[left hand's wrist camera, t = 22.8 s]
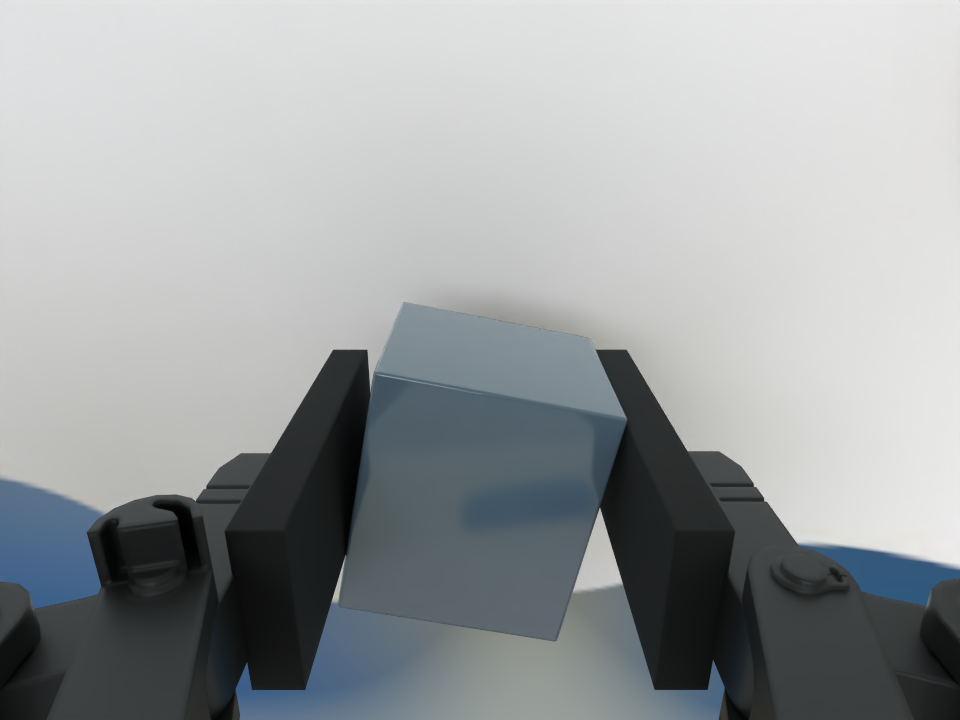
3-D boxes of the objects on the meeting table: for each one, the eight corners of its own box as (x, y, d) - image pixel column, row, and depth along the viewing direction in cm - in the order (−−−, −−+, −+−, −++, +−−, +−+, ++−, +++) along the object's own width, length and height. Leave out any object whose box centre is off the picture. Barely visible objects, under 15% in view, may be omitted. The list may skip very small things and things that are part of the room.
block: (539, 518, 16) (557, 643, 13) (371, 489, 16) (337, 607, 12) (590, 337, 14) (629, 419, 11) (402, 301, 14) (373, 371, 10)
